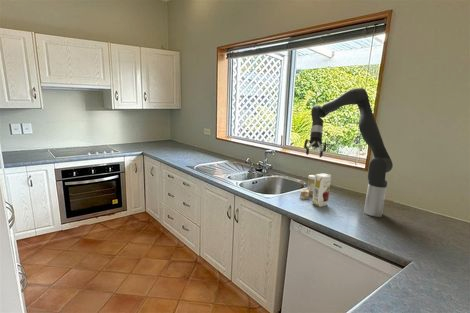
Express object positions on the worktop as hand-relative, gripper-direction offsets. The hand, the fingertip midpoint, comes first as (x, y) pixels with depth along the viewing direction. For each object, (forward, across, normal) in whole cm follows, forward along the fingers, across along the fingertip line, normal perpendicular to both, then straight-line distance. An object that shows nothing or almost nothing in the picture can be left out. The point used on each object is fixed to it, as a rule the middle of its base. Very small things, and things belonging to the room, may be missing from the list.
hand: (314, 155), depth 174 cm
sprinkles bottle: (+24, +3, +11) cm, 27 cm away
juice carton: (+32, +6, -4) cm, 32 cm away
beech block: (+28, -2, +5) cm, 28 cm away
